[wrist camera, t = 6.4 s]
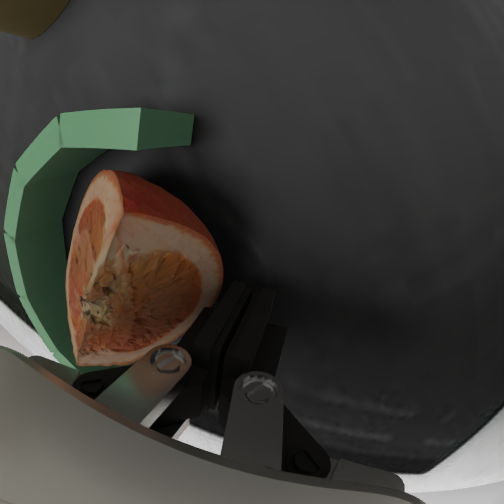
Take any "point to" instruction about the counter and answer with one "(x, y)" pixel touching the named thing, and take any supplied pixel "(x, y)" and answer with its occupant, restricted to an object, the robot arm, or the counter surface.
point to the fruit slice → (136, 270)
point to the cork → (29, 16)
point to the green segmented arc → (55, 201)
